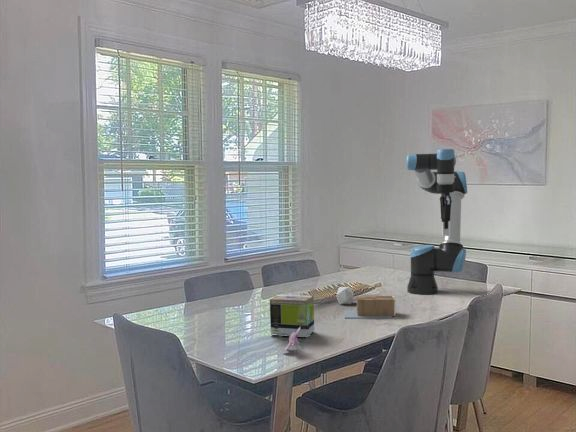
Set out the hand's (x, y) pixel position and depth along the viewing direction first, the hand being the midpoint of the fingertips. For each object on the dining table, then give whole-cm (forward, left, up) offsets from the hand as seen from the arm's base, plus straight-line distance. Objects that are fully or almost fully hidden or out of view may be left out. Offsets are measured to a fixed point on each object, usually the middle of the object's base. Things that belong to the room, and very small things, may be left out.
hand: (445, 235), depth 269 cm
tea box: (+45, -67, -32) cm, 87 cm away
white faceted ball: (-5, -45, -32) cm, 56 cm away
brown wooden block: (+16, -25, -28) cm, 41 cm away
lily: (+66, -66, -32) cm, 99 cm away
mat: (+16, -36, -32) cm, 51 cm away
